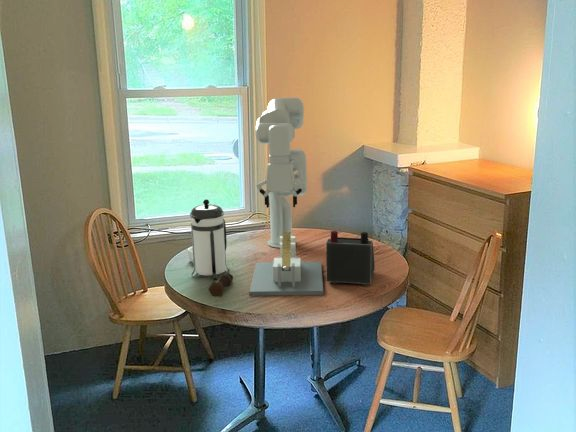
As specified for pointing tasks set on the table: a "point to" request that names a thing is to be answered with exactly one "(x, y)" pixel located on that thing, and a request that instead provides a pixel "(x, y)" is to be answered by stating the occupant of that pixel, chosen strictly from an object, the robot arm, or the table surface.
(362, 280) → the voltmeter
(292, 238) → the block
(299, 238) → the table surface
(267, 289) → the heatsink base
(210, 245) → the coffee press
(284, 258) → the wooden building block
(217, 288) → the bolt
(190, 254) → the teacup
